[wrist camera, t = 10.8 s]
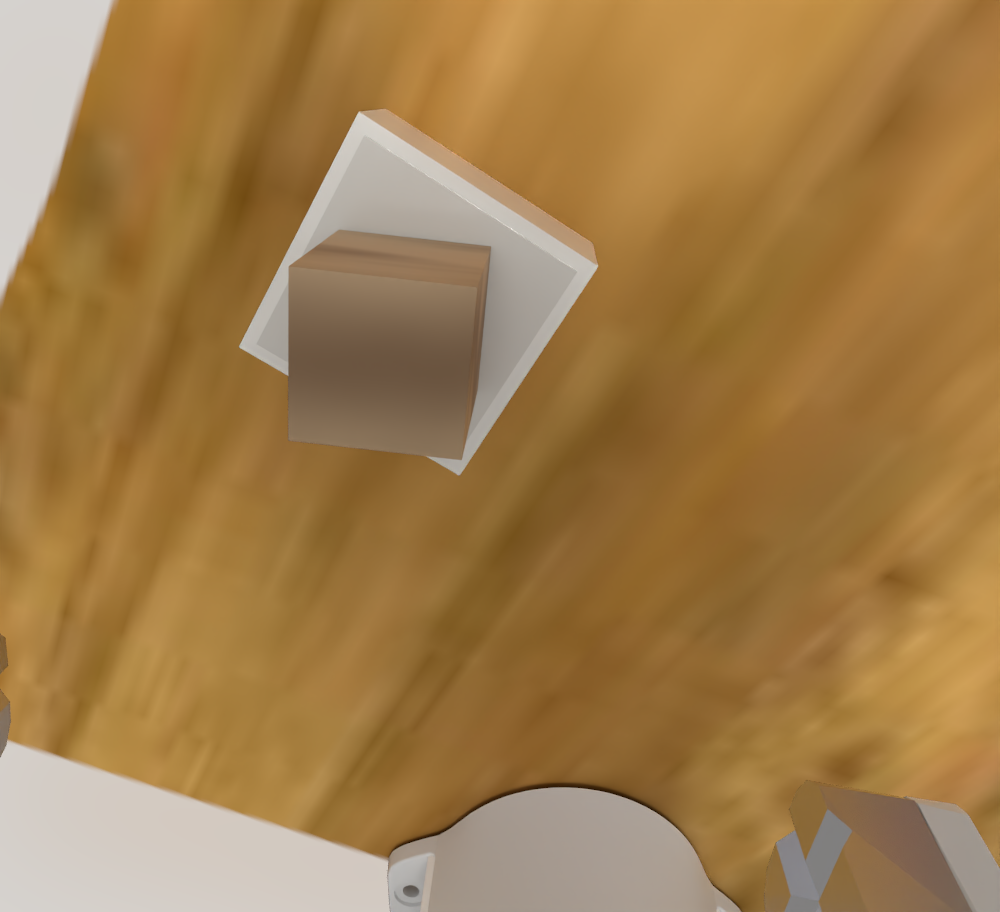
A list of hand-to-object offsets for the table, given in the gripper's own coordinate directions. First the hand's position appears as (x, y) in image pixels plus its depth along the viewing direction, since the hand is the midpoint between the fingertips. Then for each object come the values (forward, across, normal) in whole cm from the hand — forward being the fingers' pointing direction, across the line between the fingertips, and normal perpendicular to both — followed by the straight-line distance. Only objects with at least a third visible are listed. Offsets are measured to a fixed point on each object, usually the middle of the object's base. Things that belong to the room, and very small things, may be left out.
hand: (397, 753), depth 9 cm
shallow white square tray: (+27, +3, +1) cm, 27 cm away
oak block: (+22, +3, +1) cm, 22 cm away
